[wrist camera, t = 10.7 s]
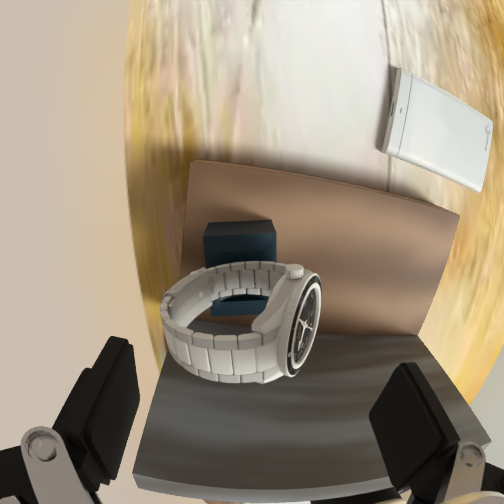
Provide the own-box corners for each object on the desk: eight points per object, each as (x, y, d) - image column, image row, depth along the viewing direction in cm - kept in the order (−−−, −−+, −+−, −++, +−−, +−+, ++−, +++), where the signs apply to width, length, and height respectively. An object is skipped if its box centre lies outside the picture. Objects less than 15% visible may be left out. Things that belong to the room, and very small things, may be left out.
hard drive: (494, 121, 20) (402, 66, 19) (480, 194, 23) (386, 153, 22) (484, 121, 22) (393, 70, 20) (471, 191, 24) (378, 152, 23)
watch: (298, 290, 22) (336, 398, 12) (191, 295, 22) (160, 405, 12) (299, 217, 20) (355, 292, 10) (183, 222, 20) (128, 302, 10)
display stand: (199, 159, 23) (83, 201, 6) (435, 205, 24) (585, 283, 7) (185, 312, 27) (138, 488, 10) (394, 330, 29) (475, 458, 12)
